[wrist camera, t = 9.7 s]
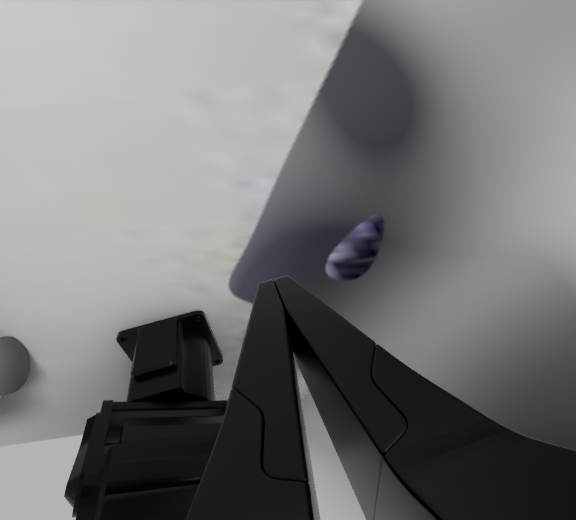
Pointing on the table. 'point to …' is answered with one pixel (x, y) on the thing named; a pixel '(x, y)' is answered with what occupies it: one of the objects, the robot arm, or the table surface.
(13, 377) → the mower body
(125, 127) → the table surface
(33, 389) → the table surface
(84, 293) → the table surface
